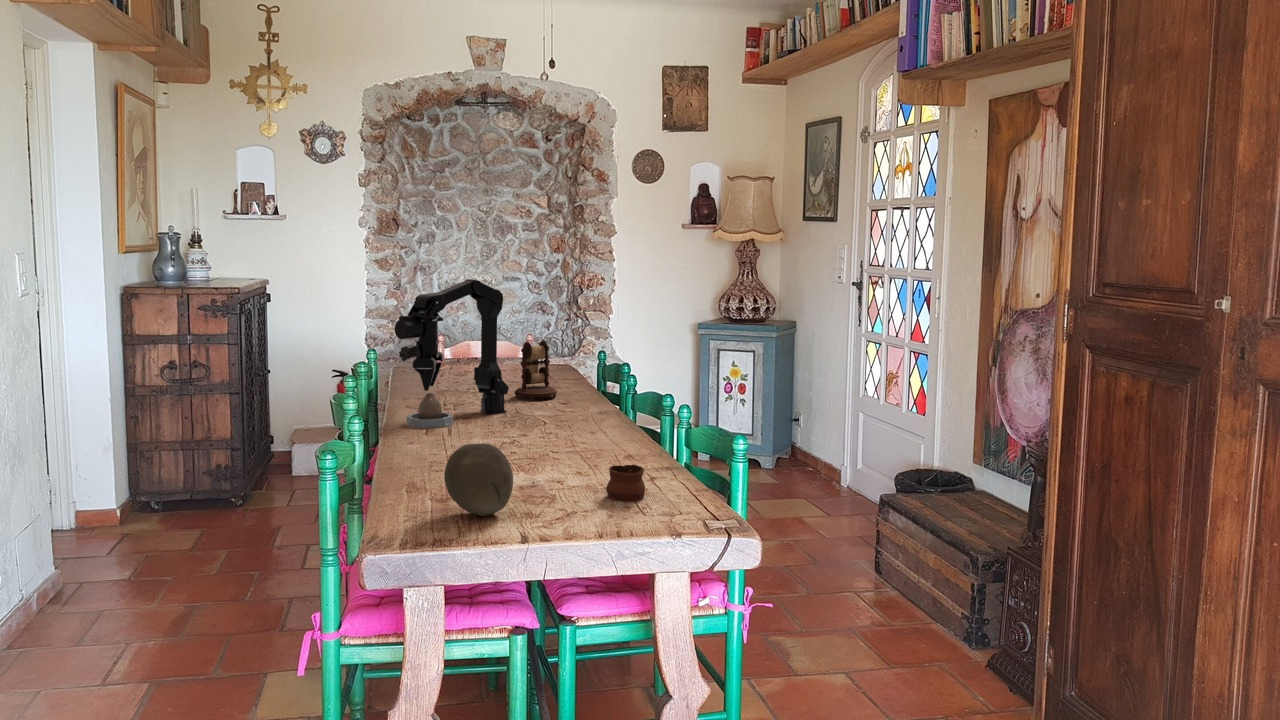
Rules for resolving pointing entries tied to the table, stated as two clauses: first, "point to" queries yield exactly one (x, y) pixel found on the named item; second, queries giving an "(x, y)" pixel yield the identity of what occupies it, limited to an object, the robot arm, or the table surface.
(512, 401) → the table surface
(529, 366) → the spool holder stand
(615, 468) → the ceramic pot
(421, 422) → the ring dish
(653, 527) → the table surface
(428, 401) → the vase
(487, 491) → the dark brown round lump
